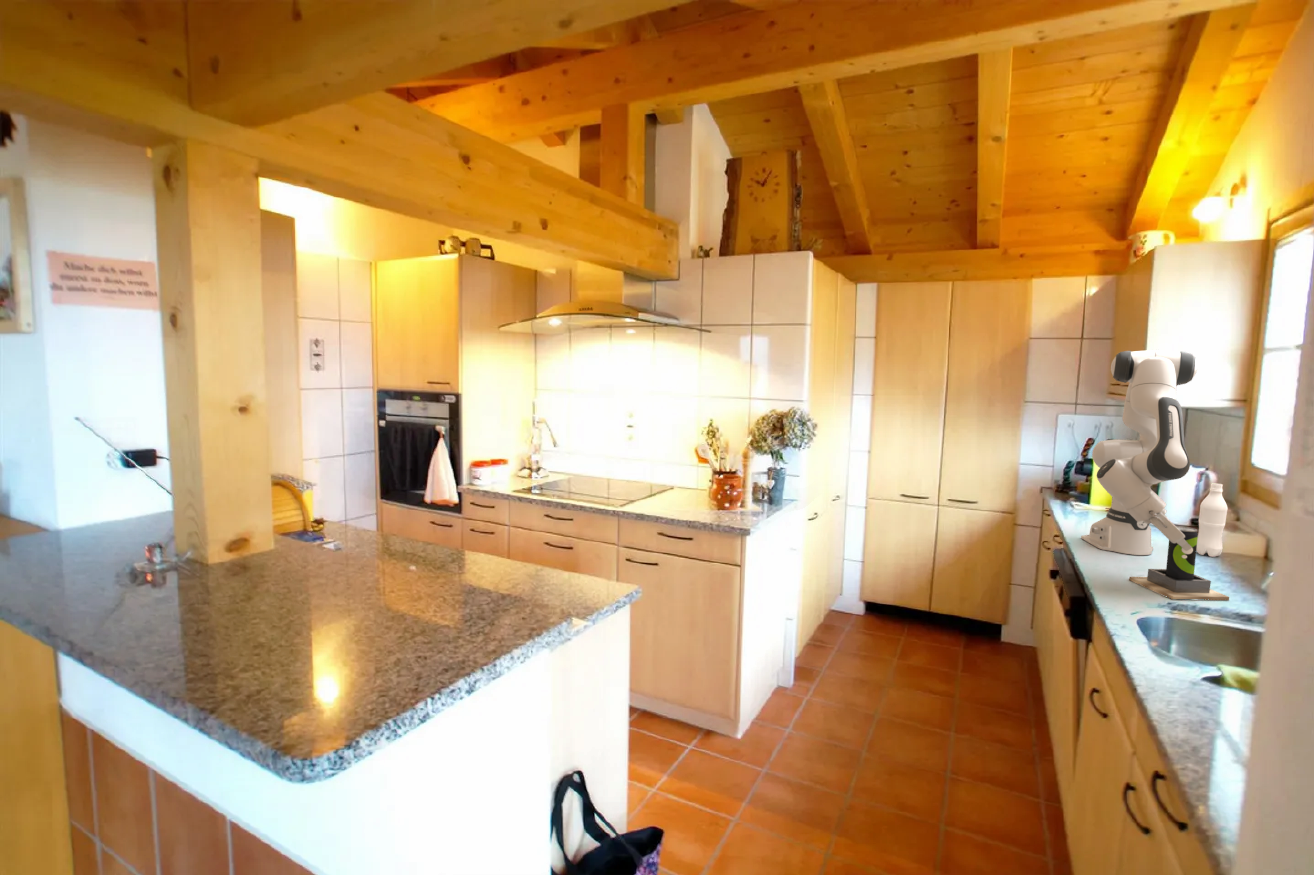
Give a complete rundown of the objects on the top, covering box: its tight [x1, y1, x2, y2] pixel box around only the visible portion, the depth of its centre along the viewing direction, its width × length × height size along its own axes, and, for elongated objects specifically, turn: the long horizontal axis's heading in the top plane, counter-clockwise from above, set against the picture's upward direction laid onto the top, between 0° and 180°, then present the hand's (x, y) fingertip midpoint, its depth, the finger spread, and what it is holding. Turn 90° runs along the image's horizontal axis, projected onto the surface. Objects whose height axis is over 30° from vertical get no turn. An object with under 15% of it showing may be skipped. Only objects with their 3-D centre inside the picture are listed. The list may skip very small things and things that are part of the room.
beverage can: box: [1165, 525, 1198, 580], centre depth 182 cm, size 6×6×15 cm
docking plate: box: [1128, 576, 1230, 601], centre depth 184 cm, size 16×16×1 cm
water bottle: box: [1196, 482, 1229, 558], centre depth 217 cm, size 7×7×25 cm
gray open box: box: [1146, 568, 1212, 593], centre depth 183 cm, size 10×10×4 cm
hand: (1185, 545), depth 182 cm, fingers closed on beverage can, 6 cm apart
